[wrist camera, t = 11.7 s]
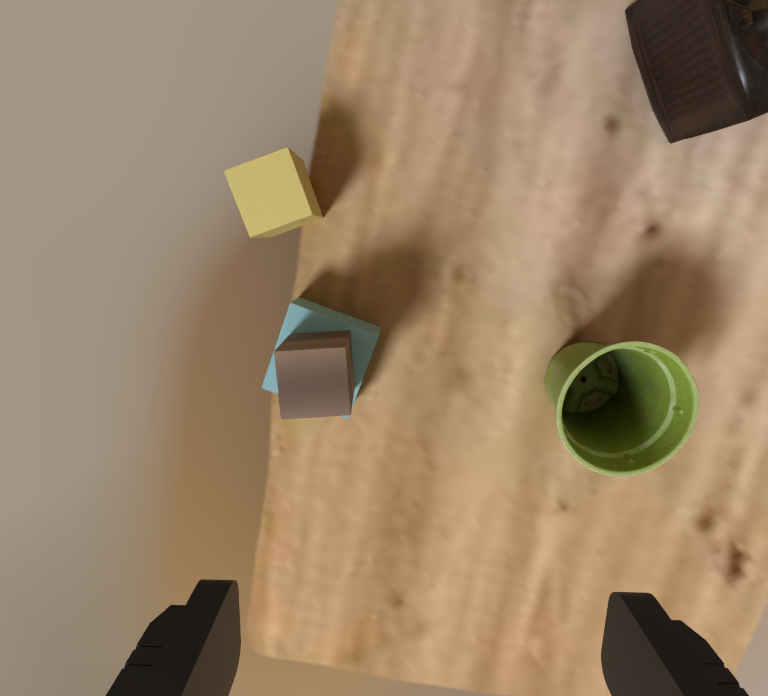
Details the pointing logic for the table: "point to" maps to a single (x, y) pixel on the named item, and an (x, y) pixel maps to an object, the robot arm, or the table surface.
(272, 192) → the mustard block
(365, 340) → the teal plinth block
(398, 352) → the table surface
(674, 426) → the plant pot
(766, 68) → the dark brown ornament
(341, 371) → the walnut block
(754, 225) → the table surface
